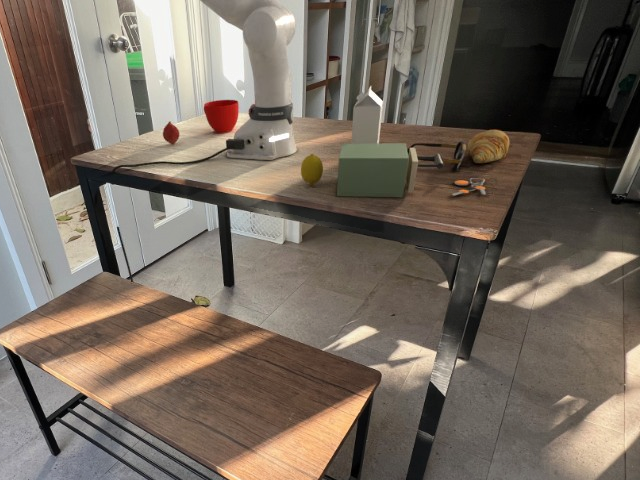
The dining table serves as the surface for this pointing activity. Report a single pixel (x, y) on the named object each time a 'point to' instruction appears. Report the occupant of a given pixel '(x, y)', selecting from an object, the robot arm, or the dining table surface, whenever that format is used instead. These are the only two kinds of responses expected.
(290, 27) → the robot arm
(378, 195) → the cabinet
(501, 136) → the croissant
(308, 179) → the lemon
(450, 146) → the sunglasses
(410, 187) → the drawer
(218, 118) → the ceramic cup
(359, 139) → the milk carton
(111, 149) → the dining table surface
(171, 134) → the onion
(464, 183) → the key chain
